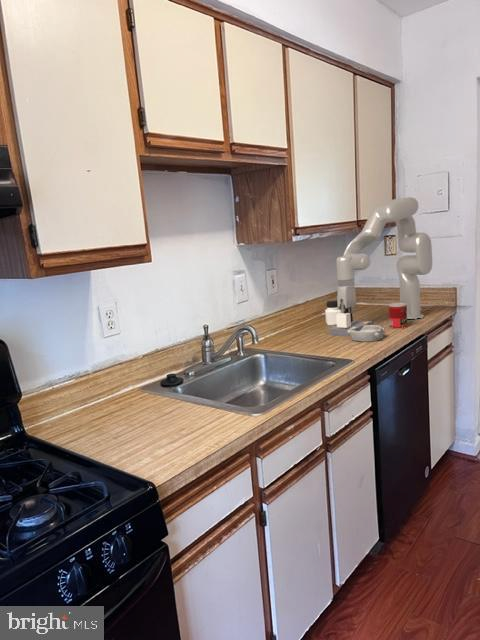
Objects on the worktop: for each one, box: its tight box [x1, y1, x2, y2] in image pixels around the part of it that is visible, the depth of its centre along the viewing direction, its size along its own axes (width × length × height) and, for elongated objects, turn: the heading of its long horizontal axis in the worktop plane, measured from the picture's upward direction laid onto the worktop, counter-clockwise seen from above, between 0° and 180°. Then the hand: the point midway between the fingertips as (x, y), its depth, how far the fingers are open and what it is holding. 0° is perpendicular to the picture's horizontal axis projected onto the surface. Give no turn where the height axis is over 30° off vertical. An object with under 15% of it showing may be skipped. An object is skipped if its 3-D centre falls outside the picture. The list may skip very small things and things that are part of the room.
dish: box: [347, 324, 386, 342], centre depth 205 cm, size 14×14×5 cm
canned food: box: [388, 302, 408, 329], centre depth 221 cm, size 8×8×11 cm
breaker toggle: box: [336, 312, 351, 328], centre depth 217 cm, size 4×5×6 cm
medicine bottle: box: [324, 299, 342, 326], centre depth 243 cm, size 7×7×12 cm
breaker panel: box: [328, 319, 374, 337], centre depth 223 cm, size 20×12×3 cm, turn 139°
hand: (348, 321), depth 221 cm, fingers closed
